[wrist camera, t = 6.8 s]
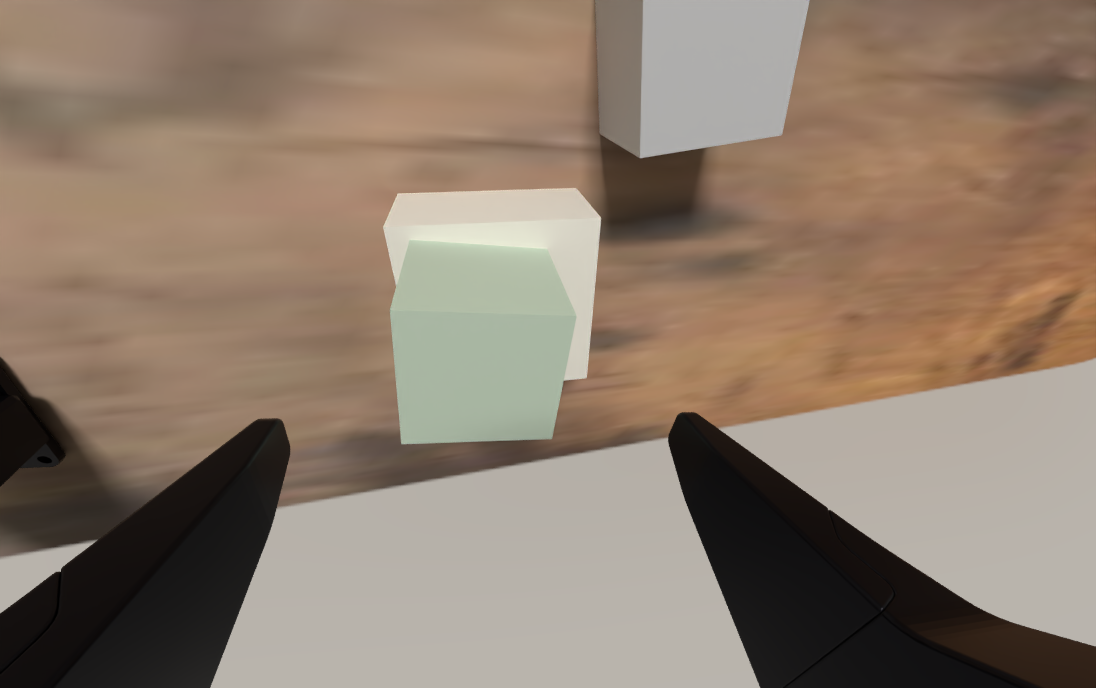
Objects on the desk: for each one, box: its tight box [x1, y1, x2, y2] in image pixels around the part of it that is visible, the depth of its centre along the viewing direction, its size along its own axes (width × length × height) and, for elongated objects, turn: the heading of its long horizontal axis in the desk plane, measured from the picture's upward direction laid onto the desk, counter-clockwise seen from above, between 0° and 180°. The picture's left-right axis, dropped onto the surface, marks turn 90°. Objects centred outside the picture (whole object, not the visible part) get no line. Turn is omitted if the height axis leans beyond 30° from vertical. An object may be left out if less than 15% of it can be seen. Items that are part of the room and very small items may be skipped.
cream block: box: [383, 188, 601, 380], centre depth 17 cm, size 7×7×4 cm
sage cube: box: [390, 240, 577, 444], centre depth 13 cm, size 4×4×4 cm
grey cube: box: [595, 0, 809, 158], centre depth 13 cm, size 4×4×4 cm
